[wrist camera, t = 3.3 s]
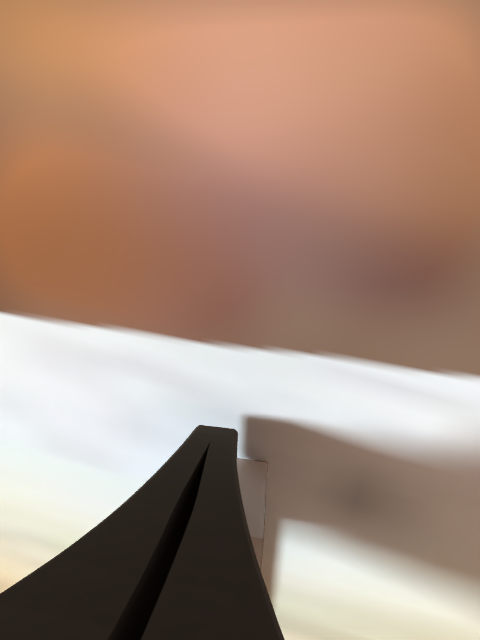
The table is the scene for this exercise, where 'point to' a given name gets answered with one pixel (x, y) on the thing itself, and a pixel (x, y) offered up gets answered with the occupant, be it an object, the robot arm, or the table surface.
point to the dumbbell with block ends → (254, 499)
